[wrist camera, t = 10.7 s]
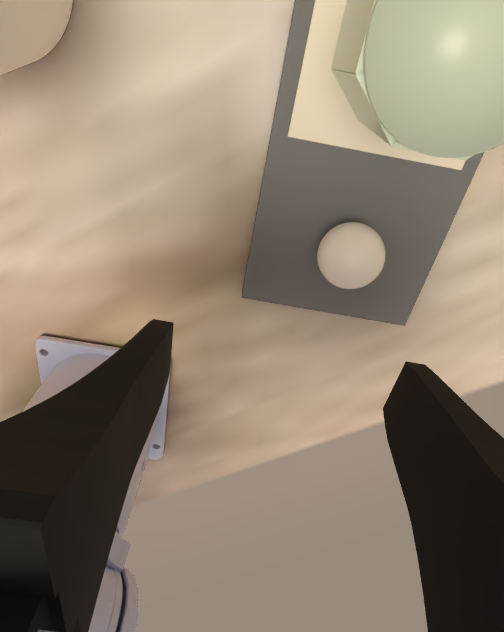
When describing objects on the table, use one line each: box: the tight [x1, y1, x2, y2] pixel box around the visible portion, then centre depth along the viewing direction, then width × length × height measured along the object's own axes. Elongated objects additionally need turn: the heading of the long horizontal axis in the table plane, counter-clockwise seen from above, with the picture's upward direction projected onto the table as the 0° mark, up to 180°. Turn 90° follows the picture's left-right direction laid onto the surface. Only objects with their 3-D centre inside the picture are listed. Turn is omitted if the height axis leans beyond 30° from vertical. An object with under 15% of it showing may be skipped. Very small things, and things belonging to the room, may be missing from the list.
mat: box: [242, 0, 484, 326], centre depth 18 cm, size 16×9×1 cm, turn 170°
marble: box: [317, 222, 385, 289], centre depth 18 cm, size 3×3×3 cm
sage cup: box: [331, 0, 504, 160], centre depth 13 cm, size 5×5×6 cm
